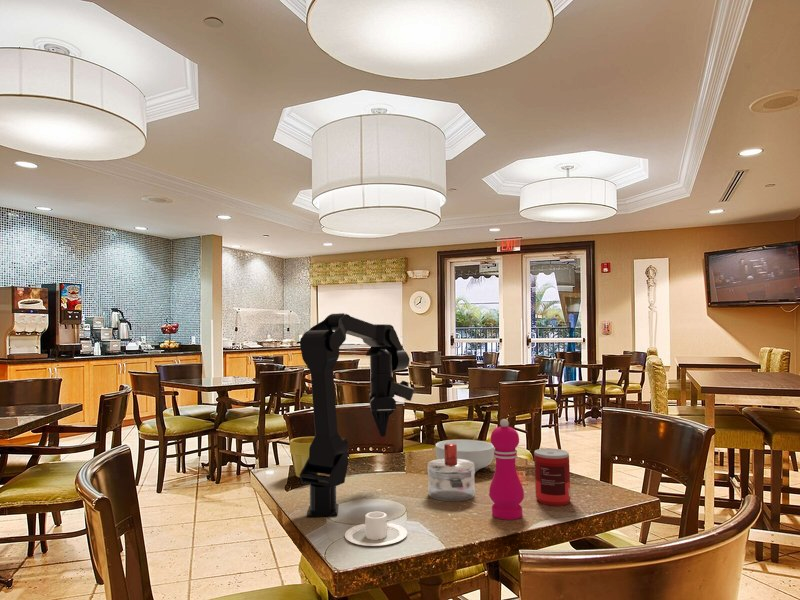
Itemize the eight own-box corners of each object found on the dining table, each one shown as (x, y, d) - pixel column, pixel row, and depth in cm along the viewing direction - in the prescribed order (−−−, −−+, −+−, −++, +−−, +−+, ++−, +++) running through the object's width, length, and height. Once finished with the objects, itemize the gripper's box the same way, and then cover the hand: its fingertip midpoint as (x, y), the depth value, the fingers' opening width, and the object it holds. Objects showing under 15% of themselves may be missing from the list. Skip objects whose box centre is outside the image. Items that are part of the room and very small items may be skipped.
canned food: (555, 494, 126) (554, 447, 127) (578, 503, 119) (576, 453, 120) (528, 498, 124) (527, 450, 124) (550, 508, 116) (548, 456, 117)
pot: (482, 503, 120) (481, 475, 120) (433, 505, 119) (433, 477, 119) (467, 484, 136) (466, 459, 136) (424, 485, 135) (424, 461, 135)
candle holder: (338, 530, 106) (338, 508, 106) (396, 523, 110) (395, 501, 110) (352, 553, 94) (352, 528, 95) (416, 544, 98) (415, 520, 98)
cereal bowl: (484, 480, 140) (484, 452, 140) (426, 474, 147) (426, 448, 147) (501, 465, 155) (501, 440, 155) (448, 460, 162) (447, 437, 163)
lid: (479, 476, 123) (478, 448, 123) (431, 478, 122) (430, 450, 122) (469, 464, 134) (468, 439, 134) (425, 466, 133) (424, 440, 133)
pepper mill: (499, 522, 108) (496, 422, 109) (484, 511, 115) (481, 417, 116) (531, 518, 110) (527, 420, 111) (514, 507, 117) (511, 415, 118)
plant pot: (331, 470, 152) (331, 436, 153) (322, 480, 142) (322, 443, 142) (296, 470, 153) (295, 436, 154) (284, 480, 143) (284, 443, 143)
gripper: (415, 374, 130) (417, 439, 129) (408, 369, 149) (409, 426, 148) (370, 375, 129) (371, 440, 128) (368, 370, 148) (369, 427, 147)
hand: (382, 433), depth 138 cm, fingers open, 9 cm apart
